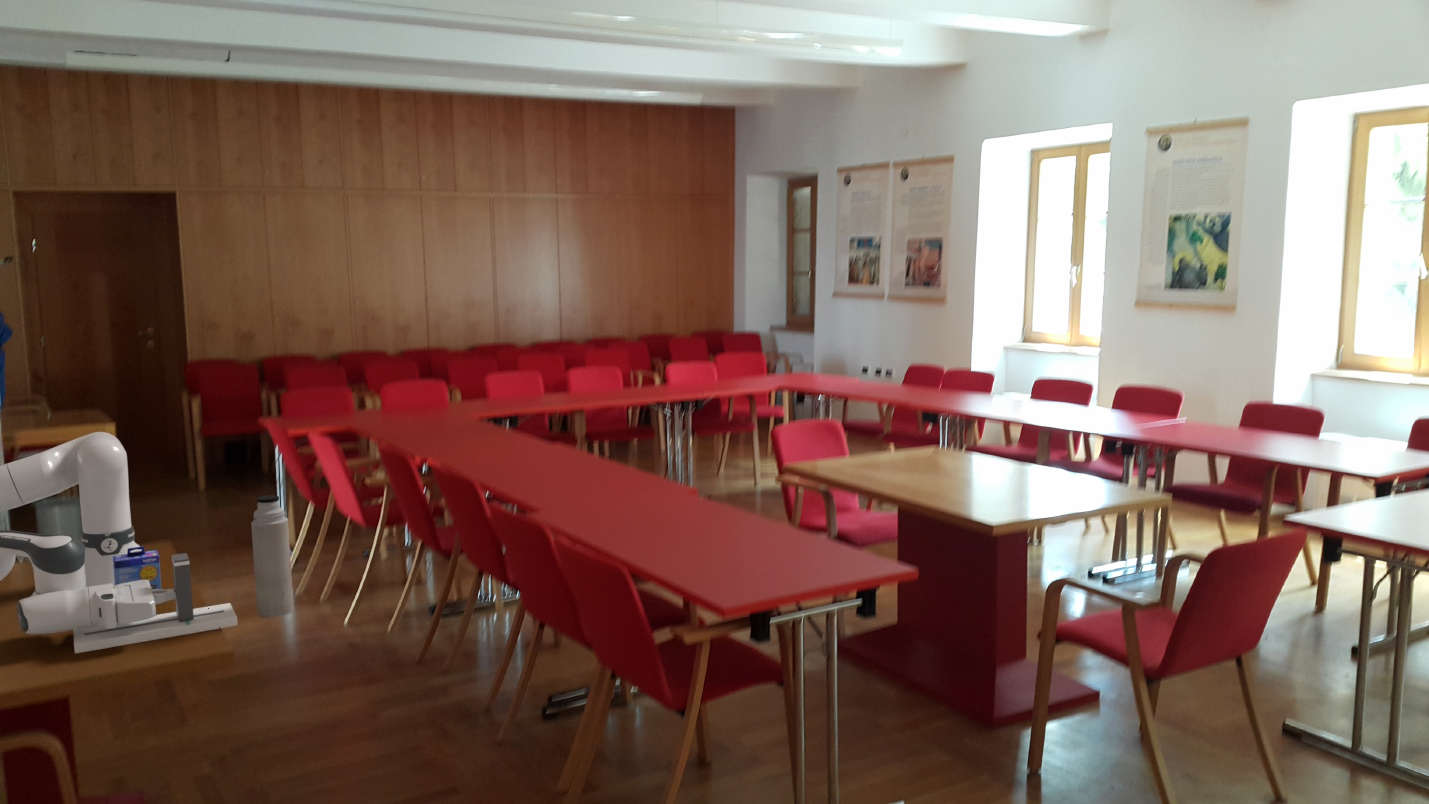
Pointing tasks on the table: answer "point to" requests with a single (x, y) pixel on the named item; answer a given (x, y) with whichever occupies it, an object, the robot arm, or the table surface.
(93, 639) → the fader board
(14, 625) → the table surface
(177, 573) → the fader knob
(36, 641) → the table surface
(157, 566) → the ink cartridge box
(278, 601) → the thermos bottle
